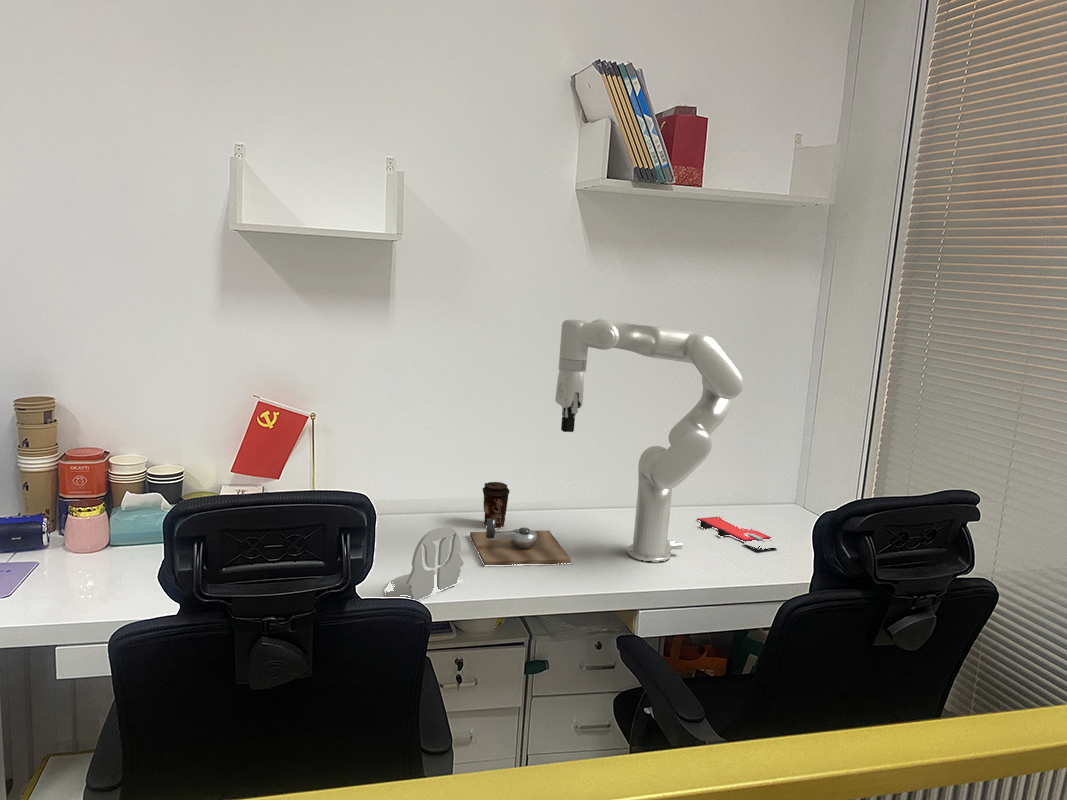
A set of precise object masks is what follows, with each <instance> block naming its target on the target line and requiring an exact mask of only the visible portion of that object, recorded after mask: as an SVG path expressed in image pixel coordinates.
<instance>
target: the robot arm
mask: <svg viewBox="0 0 1067 800" xmlns="http://www.w3.org/2000/svg"><path fill="white" fill-rule="evenodd" d="M559 346H560V347H559V355H558V357H559V358H558V376H557V383H556V388H555V389H556V391H555V400H554V402H555V403H556V404H557V405H559V406H560V407H561V416H562V417H561V425H560V427H561V428H560V429H561V431H562V432H563V433H573V432H574V431H575V422H576V421H575V420H576V417H577V416H576V415H577V414H578V411H579V409H581V408H582V406H583V403H584V402H583V400H584V384H585V383H584V381H585V380H584V378H585V376H584V374H585V373H586V372H587V361H588V353H589V351H588V349H589V348H591V349H597V350H603V351H604V350H606V351H607V350H611V349H620V350H624V351H629V352H632V353H635V354H638V355H641V356H644V357H648V358H652V359H661V360H667V361H674V362H682V363H688V364H692V365H694V366H695V367H696V369H697V370H698V372H699V374H701V382H702V383H701V384H702V393H701V397H700V399H699V400H698V402H697V403H696V404H695V406H693V407H692V408H691V410H690V411H689V412H687V414H685V416H683V418H681V419H680V421H679V420H678V422H677V423H676V424H674V426H673V427H672V428H671V430H670V431H669V433H668V442H669V444H670V446H668V448H665V447H663V446H660V445H654V446H653V445H651V446H650V447H647V448H646V449H645V450H644V451H643V452H642V453H641V454H640V457H639V459H638V465H637V466H638V469H637V473H638V474H637V475H638V480H637V481H638V485H637V499H636V508H635V518H634V527H633V538H632V544H630V545H628V546H627V547H626V553H628V554H627V555H628V556H629V555H630V558H633V559H635V560H638V561H641V560H643V561H642V562H646V561H652V562H651V563H660V562H659V561H664V562H667V561H668V559H669V560H670V559H671V558H670V557H672V553H671V551H672V550H682V549H683V543H682V542H675V541H674V540H668V534H669V525H670V514H671V505H672V496H673V493H672V492H673V491H672V490H673V489H674V488H676V487H678V486H679V485H680V484H681V483H682V482H683V481H684V480H685V479H687V478H688V477H689V476H690V475H691V474H692V473H693V472H694V471H695V470H696V469H697V468H698V467H699V466H700V465H701V464H702V463H703V462H704V461H705V460H706V459H707V457H708V456H709V454H710V452H711V450H712V445H713V444H712V443H713V442H712V438H711V436H710V435H711V434H712V433H714V432H715V430H716V429H717V428H718V427H719V426H720V425H721V423H723V421H724V420H725V419H726V417H727V415H728V413H729V411H730V408H731V401H732V400H733V399H735V398H737V397H739V395H740V394H741V393H742V392H743V389H744V379H743V375H742V374H741V373H740V371H739V369H738V368H737V367H736V365H735V364H734V363H733V362H732V360H731V359H730V358H729V357H728V356H727V354H726V352H724V350H723V349H722V347H721V346H720V345H719V344H718V343H717V341H716V340H715V339H714V338H712V337H711V336H709V335H706V334H703V333H700V332H695V331H687V330H681V329H673V328H667V327H662V326H654V325H646V324H645V325H643V324H634V323H627V322H621V321H615V320H608V319H595V320H593V321H591V322H588V321H586V320H583V319H582V320H581V319H566V320H563V321H562V324H561V334H560V344H559ZM666 560H667V561H666Z"/></svg>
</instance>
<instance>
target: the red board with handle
mask: <svg viewBox="0 0 1067 800" xmlns="http://www.w3.org/2000/svg"><path fill="white" fill-rule="evenodd" d="M718 517H719V518H718ZM697 520H700V521H701V523H700V522H699V523H700V524H699V525H700V526H701V527H703V528H706V529H707V528H708V527H714V528H717V529H718V531H717V536H718V535H720V536H724V537H725V535H732V536H734V537H736V538H738V539H740V540H743V541H745V542H746V541H752V540H757V541H763V539H770V538H772V537H771V536H769V535H767V534H765V533H762V532H761V531H758V530H756V529H753V528H751V530H749V529H748V530H749V531H748V530H747V529H744V528H743V529H744V530H743V529H742V528H741V529H739V528H738V527H737V526H736V527H735V526H734V525H732V524H730V523H728V522H726V521H724V520H722V518H720V516H712V517H710V516H708V517H700V518H696V521H697ZM700 526H699V527H700ZM752 529H753V530H754V531H753V530H752ZM755 530H756V531H755ZM772 539H773V538H772ZM763 542H764V541H763ZM759 547H760V546H759ZM759 547H758V548H755V547H753V548H752V546H751V547H750V548H751V549H753V550H755V551H759V552H760V551H765V550H764V549H762V548H760V549H759ZM758 549H759V550H758ZM761 549H762V550H761ZM765 549H766V548H765ZM768 550H770V549H769V548H768Z"/></svg>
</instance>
